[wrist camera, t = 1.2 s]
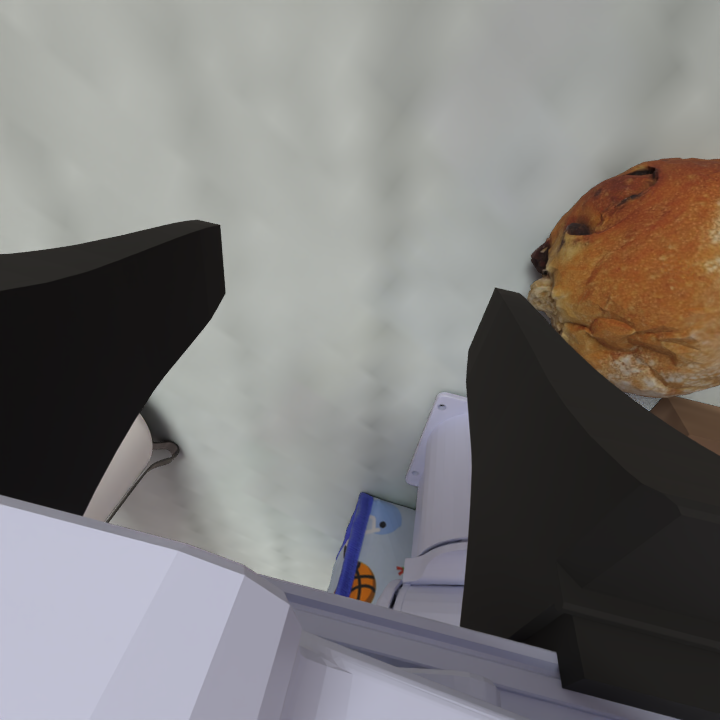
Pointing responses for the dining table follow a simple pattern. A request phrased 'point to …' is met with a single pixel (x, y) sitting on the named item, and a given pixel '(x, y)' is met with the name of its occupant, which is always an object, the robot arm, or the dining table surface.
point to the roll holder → (692, 420)
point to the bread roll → (640, 277)
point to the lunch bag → (373, 549)
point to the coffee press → (126, 470)
